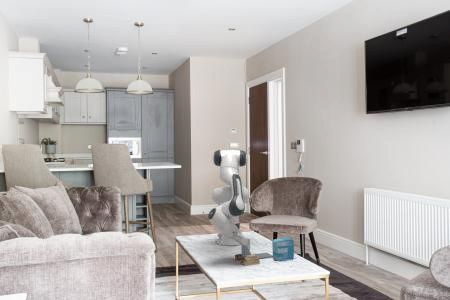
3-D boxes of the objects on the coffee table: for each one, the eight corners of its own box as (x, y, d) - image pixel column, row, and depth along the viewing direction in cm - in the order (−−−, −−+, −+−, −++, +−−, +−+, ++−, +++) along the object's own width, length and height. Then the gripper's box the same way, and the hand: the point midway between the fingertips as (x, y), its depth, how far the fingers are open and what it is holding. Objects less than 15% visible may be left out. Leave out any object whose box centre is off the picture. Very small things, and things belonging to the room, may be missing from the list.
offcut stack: (242, 263, 260) (242, 255, 260) (256, 261, 263) (256, 254, 263) (245, 265, 256) (245, 257, 255) (260, 263, 259) (259, 255, 259)
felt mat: (250, 255, 278) (250, 254, 278) (266, 253, 282) (266, 252, 282) (257, 259, 269) (257, 258, 269) (274, 257, 273) (274, 256, 273)
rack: (234, 259, 269) (234, 254, 269) (250, 257, 273) (250, 252, 273) (241, 263, 260) (240, 258, 260) (257, 261, 264) (256, 256, 264)
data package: (276, 261, 263) (275, 240, 263) (272, 259, 267) (272, 239, 267) (294, 259, 268) (293, 238, 267) (290, 257, 272) (289, 237, 272)
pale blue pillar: (241, 259, 269) (241, 237, 268) (246, 259, 270) (245, 237, 269) (245, 262, 263) (244, 239, 263) (250, 261, 264) (249, 239, 264)
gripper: (240, 229, 254) (256, 245, 258) (227, 223, 273) (242, 238, 277) (233, 238, 252) (249, 254, 256) (220, 231, 272) (236, 246, 275)
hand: (246, 245), depth 267 cm, fingers open, 8 cm apart
